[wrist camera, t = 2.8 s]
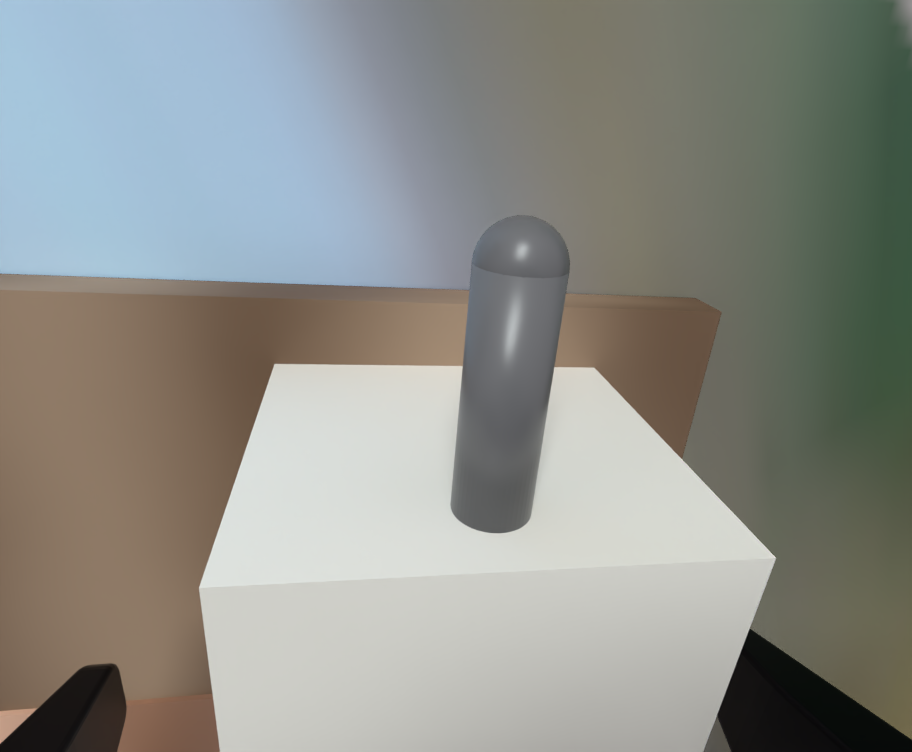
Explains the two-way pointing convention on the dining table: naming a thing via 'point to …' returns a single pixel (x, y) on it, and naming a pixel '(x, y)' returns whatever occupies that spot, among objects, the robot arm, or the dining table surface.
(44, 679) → the mounting board
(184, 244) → the dining table surface
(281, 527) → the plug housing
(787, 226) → the dining table surface
